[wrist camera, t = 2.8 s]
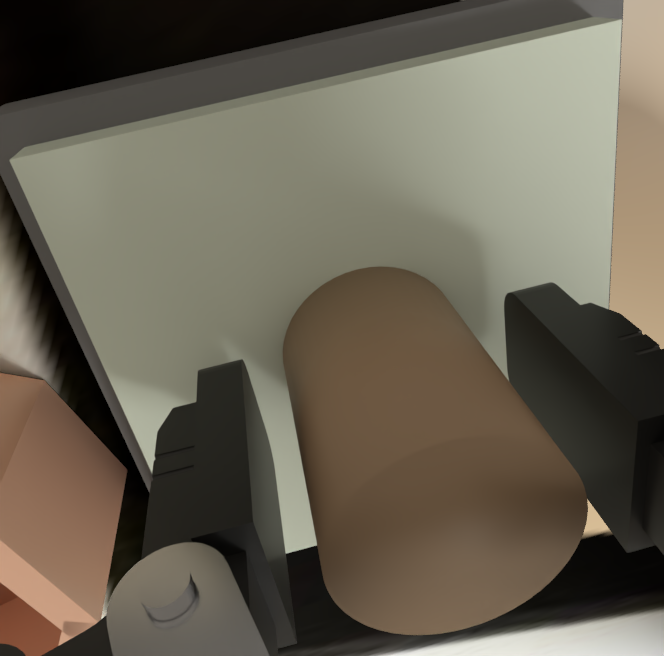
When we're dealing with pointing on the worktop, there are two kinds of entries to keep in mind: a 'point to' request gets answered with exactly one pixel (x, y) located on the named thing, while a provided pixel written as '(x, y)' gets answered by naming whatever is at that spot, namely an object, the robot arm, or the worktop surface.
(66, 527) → the pink hollow octagonal piece
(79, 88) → the mat
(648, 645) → the worktop surface
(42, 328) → the worktop surface
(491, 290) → the lid
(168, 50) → the worktop surface
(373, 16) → the worktop surface
